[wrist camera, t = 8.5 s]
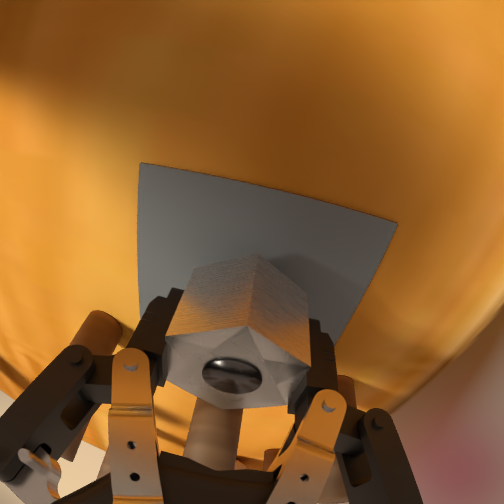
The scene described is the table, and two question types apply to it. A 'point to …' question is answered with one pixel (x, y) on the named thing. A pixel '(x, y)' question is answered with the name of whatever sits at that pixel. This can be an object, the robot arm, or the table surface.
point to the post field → (201, 417)
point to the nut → (239, 335)
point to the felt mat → (255, 238)
